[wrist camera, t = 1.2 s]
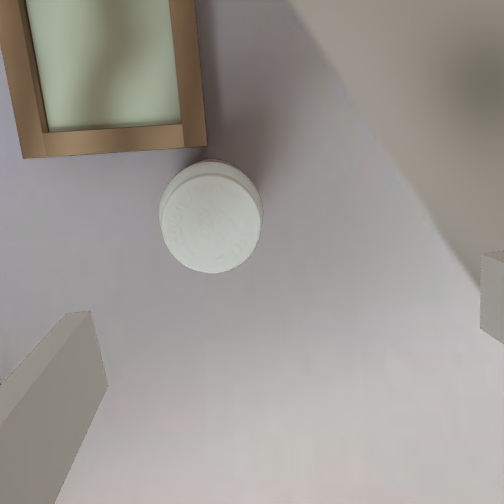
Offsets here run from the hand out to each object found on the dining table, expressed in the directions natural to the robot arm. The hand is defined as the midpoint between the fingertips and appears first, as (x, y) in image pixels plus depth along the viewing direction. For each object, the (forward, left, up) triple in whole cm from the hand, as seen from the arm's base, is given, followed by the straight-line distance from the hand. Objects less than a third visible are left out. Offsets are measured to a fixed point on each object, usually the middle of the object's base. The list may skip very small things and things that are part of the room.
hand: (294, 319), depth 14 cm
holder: (-9, +12, -19) cm, 24 cm away
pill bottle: (-3, +2, -20) cm, 20 cm away
